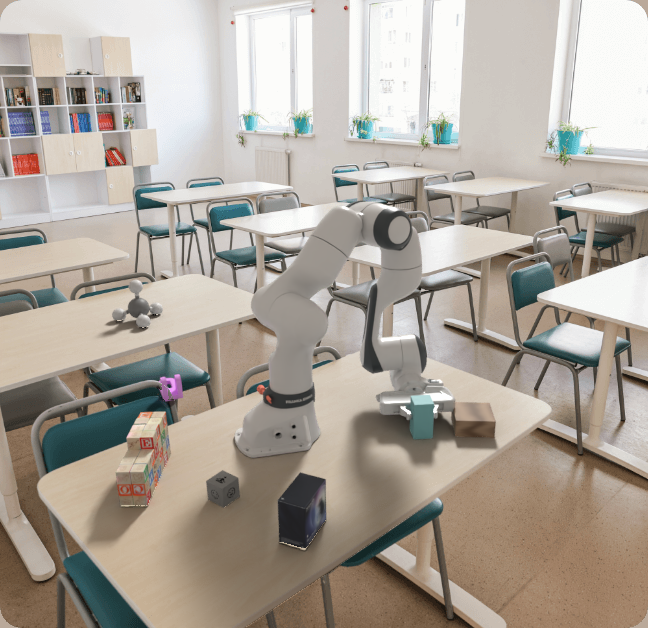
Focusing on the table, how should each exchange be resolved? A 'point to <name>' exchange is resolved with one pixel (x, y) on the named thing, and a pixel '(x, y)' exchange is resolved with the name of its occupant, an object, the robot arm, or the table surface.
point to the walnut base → (473, 420)
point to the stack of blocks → (143, 459)
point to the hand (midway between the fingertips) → (422, 416)
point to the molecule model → (138, 307)
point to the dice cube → (223, 488)
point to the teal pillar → (422, 416)
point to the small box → (302, 510)
